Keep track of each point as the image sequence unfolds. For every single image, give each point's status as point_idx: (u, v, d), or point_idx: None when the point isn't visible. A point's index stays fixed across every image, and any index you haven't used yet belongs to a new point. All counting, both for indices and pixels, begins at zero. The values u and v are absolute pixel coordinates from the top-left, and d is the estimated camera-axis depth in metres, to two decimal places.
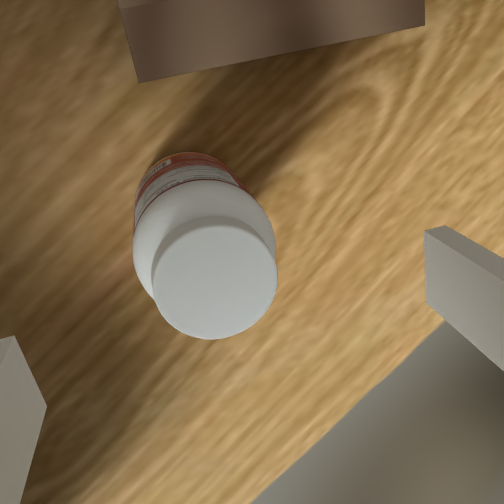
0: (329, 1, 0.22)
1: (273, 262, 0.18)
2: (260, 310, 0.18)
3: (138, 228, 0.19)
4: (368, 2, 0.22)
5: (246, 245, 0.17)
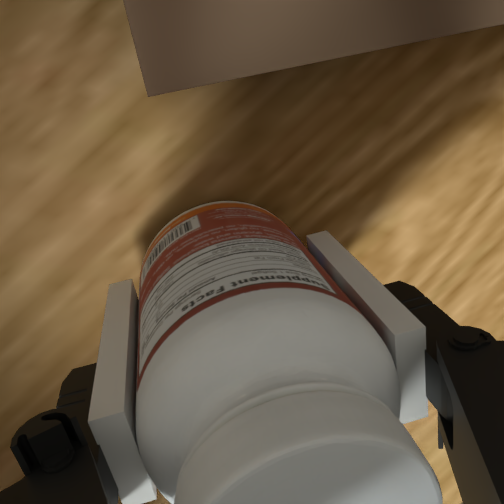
0: None
1: (439, 494, 0.08)
2: None
3: (147, 387, 0.10)
4: None
5: (388, 471, 0.08)
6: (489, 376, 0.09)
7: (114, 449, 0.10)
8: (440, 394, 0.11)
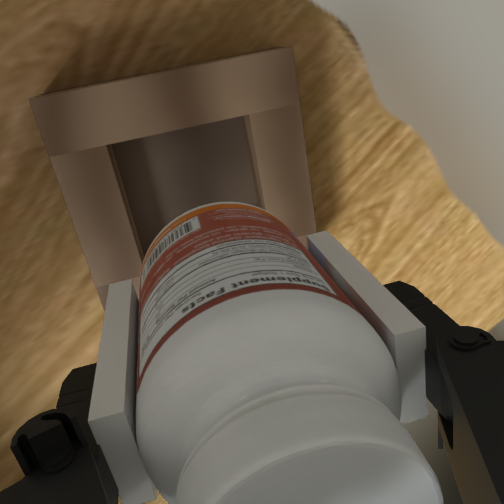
0: None
1: (440, 496, 0.08)
2: None
3: (147, 389, 0.10)
4: None
5: (389, 473, 0.08)
6: (489, 377, 0.09)
7: (114, 449, 0.10)
8: (440, 394, 0.11)
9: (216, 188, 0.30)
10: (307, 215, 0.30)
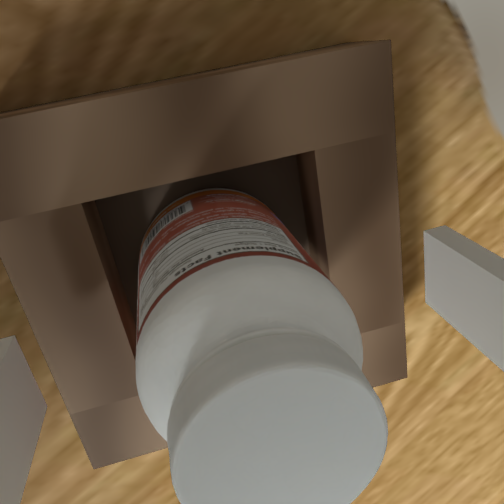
0: None
1: (383, 417, 0.10)
2: (354, 491, 0.11)
3: (145, 338, 0.12)
4: None
5: (340, 395, 0.09)
6: None
7: None
8: None
9: None
10: (393, 298, 0.19)
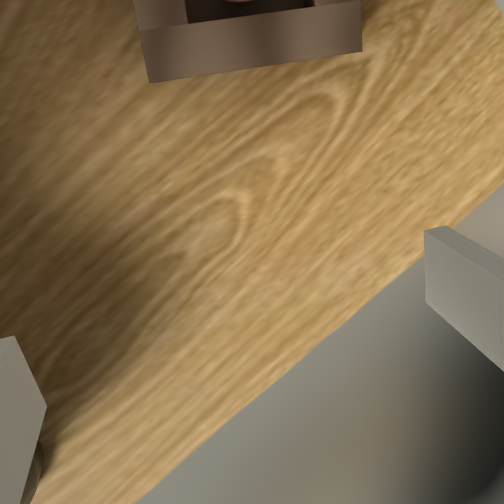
0: (290, 31, 0.30)
1: None
2: None
3: None
4: (319, 33, 0.30)
5: None
6: None
7: None
8: None
9: None
10: None
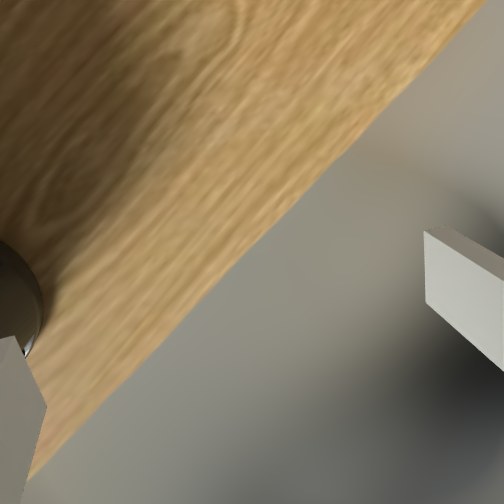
0: None
1: None
2: None
3: None
4: None
5: None
6: None
7: None
8: None
9: None
10: None
